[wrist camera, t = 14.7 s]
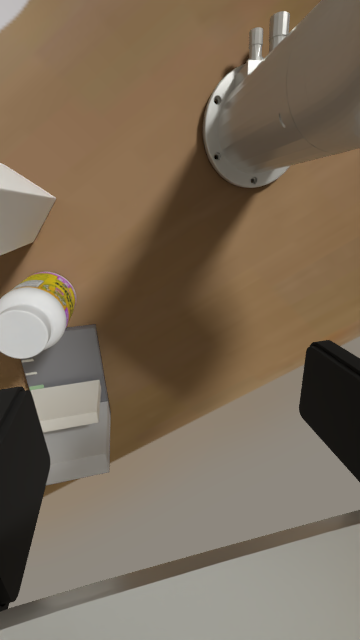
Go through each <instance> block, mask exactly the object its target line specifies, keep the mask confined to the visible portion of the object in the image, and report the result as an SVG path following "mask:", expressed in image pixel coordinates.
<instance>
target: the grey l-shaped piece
mask: <svg viewBox="0 0 360 640" xmlns="http://www.w3.org/2000/svg"><path fill="white" fill-rule="evenodd" d="M21 362H22V366H23V369H24V373H25V376H26V379H27V383H28V386H29V390H30V392H31V390H35V389H42V388H48V387H55V386H61V385H67V384H74V383H80V382H87V381H93V380H100V385H101V398H100V411H99V422H98V423H93V424H87V425H82V426H76V427H70V428H65V429H59V430H54V431H48V432H43V434H44V438H45V441H46V445H47V448H48V452H49V455H50V470H49V474H48V478H47V482H46V485H50V484H55V483H60V482H65V481H69V480H74V479H79V478H84V477H88V476H93V475H98V474H103V473H107V472H109V464H110V419H111V412H110V406H109V400H108V394H107V388H106V383H105V377H104V371H103V365H102V359H101V354H100V348H99V342H98V336H97V331H96V325H95V324H93V325H85V326H76V327H68V328H66V329H65V331H64V334H63V335H62V337H61V338H60V340H59V341H58V342H57V343H56V344H54V345H53V346H52V347H50V348H48V349H45V350H43V351H41V352H40V353H39V354H37V355H35V356H33V357H30V358H24V359H21Z"/></svg>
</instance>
